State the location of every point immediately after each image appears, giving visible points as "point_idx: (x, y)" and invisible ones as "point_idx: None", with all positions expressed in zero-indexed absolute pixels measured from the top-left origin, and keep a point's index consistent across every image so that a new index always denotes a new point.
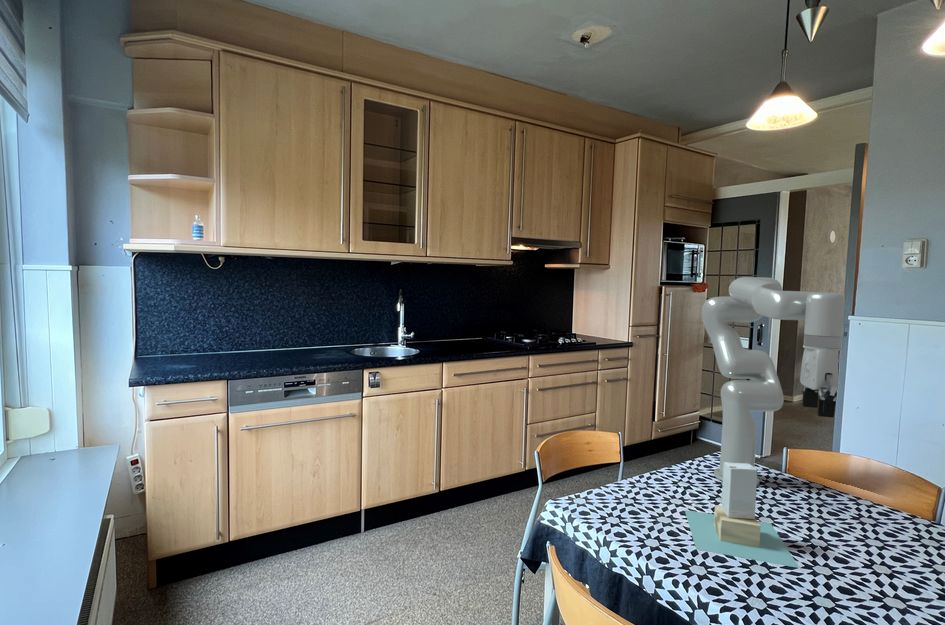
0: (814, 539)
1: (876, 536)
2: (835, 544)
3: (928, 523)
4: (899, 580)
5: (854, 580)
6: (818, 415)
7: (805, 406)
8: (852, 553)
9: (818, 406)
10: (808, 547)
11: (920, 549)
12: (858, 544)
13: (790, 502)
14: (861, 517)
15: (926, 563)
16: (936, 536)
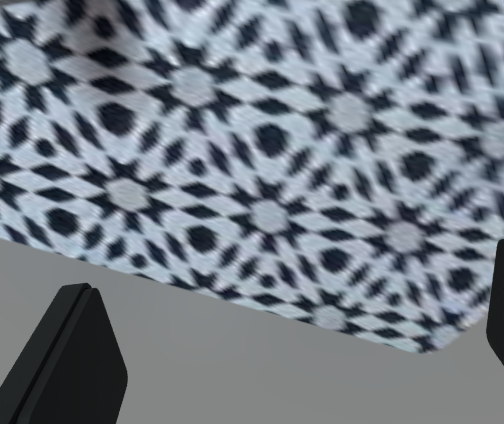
0: (206, 80)
1: (308, 230)
2: (204, 127)
3: (436, 346)
4: (92, 213)
5: (24, 124)
6: (65, 285)
7: (497, 250)
8: (173, 155)
9: (26, 351)
10: (142, 53)
11: (280, 293)
12: (236, 180)
13: (465, 61)
14: (418, 228)
15: (212, 283)
16: (367, 338)
